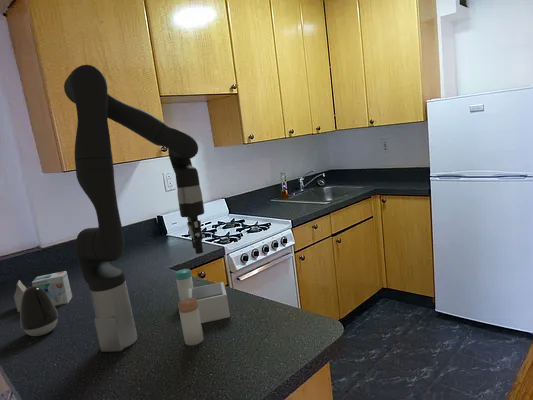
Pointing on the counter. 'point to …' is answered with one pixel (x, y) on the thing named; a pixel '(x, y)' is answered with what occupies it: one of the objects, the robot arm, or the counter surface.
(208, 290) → the grey unit
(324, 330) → the counter surface
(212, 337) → the counter surface
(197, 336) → the white spice bottle
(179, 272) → the teal capped canister
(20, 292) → the sunburst logo carton
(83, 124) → the robot arm
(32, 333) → the dark grey rounded pod
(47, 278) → the light bulb box
